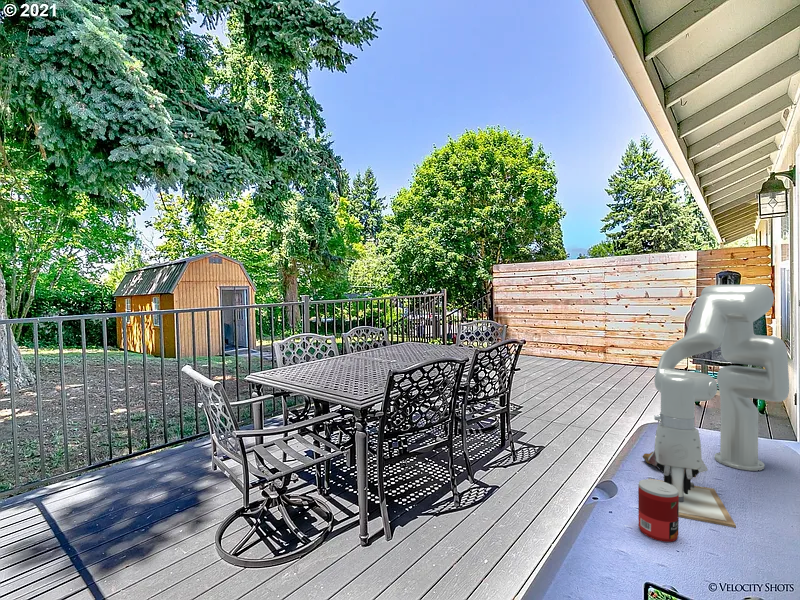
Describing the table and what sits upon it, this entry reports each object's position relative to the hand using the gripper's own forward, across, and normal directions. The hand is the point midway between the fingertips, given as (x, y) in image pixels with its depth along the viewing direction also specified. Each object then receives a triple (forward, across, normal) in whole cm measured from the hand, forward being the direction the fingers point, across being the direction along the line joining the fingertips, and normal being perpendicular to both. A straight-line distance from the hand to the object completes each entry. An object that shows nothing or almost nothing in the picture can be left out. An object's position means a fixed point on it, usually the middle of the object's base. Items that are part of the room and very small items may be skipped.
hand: (676, 489), depth 110 cm
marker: (+3, 0, 0) cm, 3 cm away
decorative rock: (+4, +1, +24) cm, 24 cm away
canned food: (+4, -6, -18) cm, 20 cm away
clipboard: (+3, +3, +2) cm, 5 cm away
